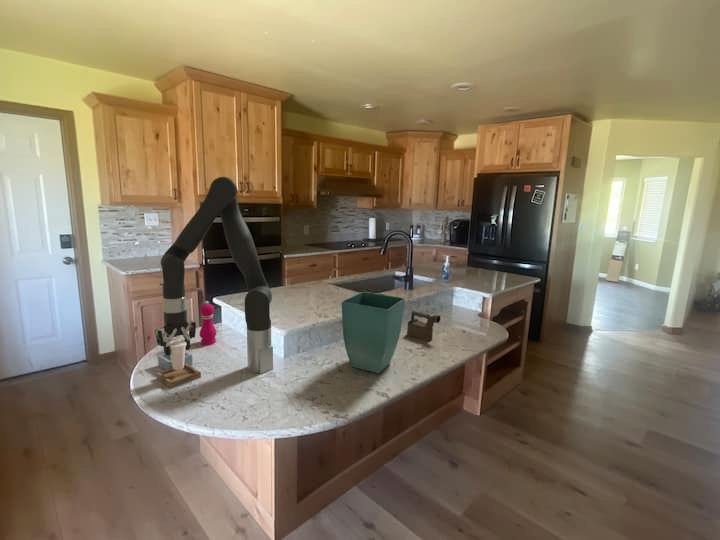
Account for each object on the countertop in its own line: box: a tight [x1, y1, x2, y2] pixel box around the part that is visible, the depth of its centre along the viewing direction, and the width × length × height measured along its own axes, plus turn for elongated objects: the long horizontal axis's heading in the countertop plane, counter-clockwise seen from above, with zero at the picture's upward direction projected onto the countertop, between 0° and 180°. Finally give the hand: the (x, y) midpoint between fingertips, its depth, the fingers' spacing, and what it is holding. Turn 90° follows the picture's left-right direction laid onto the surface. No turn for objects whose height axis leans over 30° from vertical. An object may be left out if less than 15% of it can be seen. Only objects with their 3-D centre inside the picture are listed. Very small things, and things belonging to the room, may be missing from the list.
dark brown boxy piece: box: [406, 310, 441, 341], centre depth 188 cm, size 8×16×13 cm, turn 46°
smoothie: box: [169, 336, 187, 370], centre depth 137 cm, size 6×6×14 cm
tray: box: [156, 364, 202, 389], centre depth 139 cm, size 11×11×2 cm
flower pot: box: [341, 291, 406, 374], centre depth 154 cm, size 20×20×28 cm
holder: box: [157, 350, 194, 371], centre depth 149 cm, size 9×9×4 cm
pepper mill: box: [199, 300, 218, 346], centre depth 170 cm, size 7×7×20 cm
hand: (177, 352), depth 137 cm, fingers closed on smoothie, 6 cm apart
